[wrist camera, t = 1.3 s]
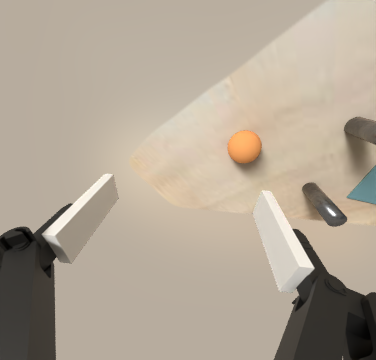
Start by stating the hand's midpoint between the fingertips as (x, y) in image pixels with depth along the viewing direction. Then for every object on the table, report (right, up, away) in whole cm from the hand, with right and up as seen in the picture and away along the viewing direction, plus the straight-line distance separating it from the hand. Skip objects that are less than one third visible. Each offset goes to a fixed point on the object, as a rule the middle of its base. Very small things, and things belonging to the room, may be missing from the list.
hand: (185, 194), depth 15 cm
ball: (+10, +7, +13) cm, 18 cm away
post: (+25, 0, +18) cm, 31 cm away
